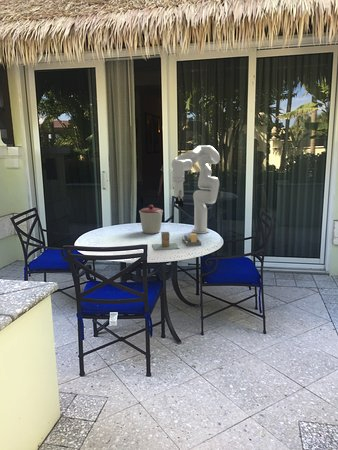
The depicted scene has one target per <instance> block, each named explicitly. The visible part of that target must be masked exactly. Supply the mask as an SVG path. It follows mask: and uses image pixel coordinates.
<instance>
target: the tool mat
mask: <svg viewBox="0 0 338 450" xmlns="http://www.w3.org/2000/svg"><path fill="white" fill-rule="evenodd" d="M151 246H152V247H153V250H154V251H163V250H164V251H168V250H180V247H179V245H178V244H177V242H173V243H172V242H171V243H170V242H169V247H162V243H153V244H151Z"/></svg>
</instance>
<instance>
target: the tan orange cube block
mask: <svg viewBox="0 0 338 450" xmlns="http://www.w3.org/2000/svg"><path fill="white" fill-rule="evenodd" d="M189 237H190V240H191V242H197V238H198V233H194V232H192V233H189Z"/></svg>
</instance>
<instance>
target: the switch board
mask: <svg viewBox="0 0 338 450" xmlns="http://www.w3.org/2000/svg"><path fill="white" fill-rule="evenodd" d="M181 241H182V242H183V243H184V244H186V245H185V246H186V247H190V246H192V247H193V246H202V241H201V240H200V239H199V238H198V237H197V242H191V240H190V236H188V235H184V237H182V238H181Z"/></svg>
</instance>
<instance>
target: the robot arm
mask: <svg viewBox="0 0 338 450" xmlns="http://www.w3.org/2000/svg"><path fill="white" fill-rule="evenodd" d="M220 160H221V157H220V153H219V152H218V151H217V150H216V149H215V147H213V146H212V145H198V146H195V147H194V148H193V149H192V150H191V151H188V152H185V153H183V154H180V155H178V156H176V157H175V158H173V160H171V168H172V182H173V196H174V197H175V204H176V205H178V207H181V208H182V207H184V182H185V171H187V172H188V171H190V170H192V169H193V166H194V164H196V163H197V162H198V165H199V168H200V170H199V176H198V182H197V187H198V188H199V189H198V190H196V191H195V190H194V192H193V194H192V198H193V204H194V209H193V210H194V212H193V213H194V214H193V215H194V219H193V220H194V224H193V226H194V227H193V229H192V230H191V231H192V233H196V234H206V233H209V229H208V207H207V205H206V204H211V205H213V204H215V203H216V202H217V199H218V193H219V188H220V179H219V178H218V177H216V176H212V173H213V172H212V171H213V170H212V169H211V166H209V165H216V164H218V163H220Z"/></svg>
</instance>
